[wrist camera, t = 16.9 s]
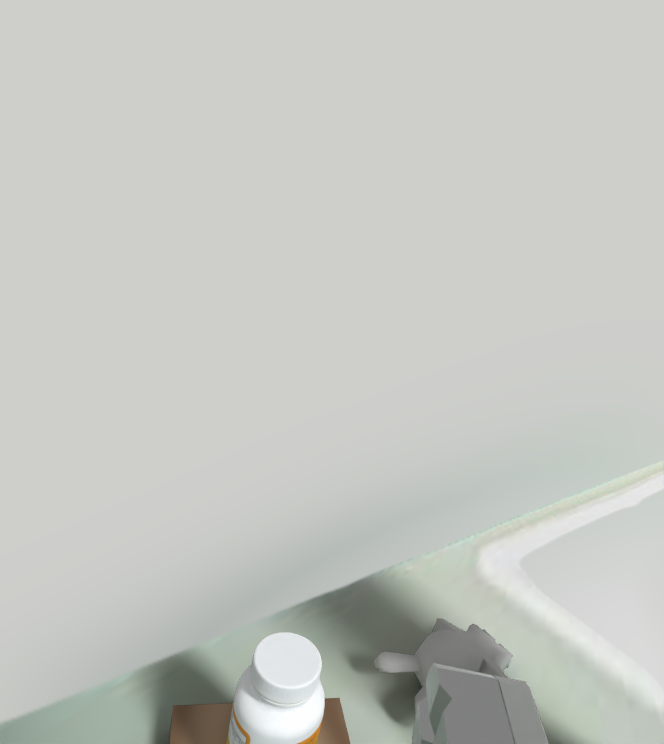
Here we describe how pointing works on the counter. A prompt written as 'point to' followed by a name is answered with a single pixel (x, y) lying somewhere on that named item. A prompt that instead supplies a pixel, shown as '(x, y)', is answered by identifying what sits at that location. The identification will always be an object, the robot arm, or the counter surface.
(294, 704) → the supplement bottle
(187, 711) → the walnut base
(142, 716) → the counter surface
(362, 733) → the counter surface
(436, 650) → the bunny figurine
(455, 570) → the counter surface
